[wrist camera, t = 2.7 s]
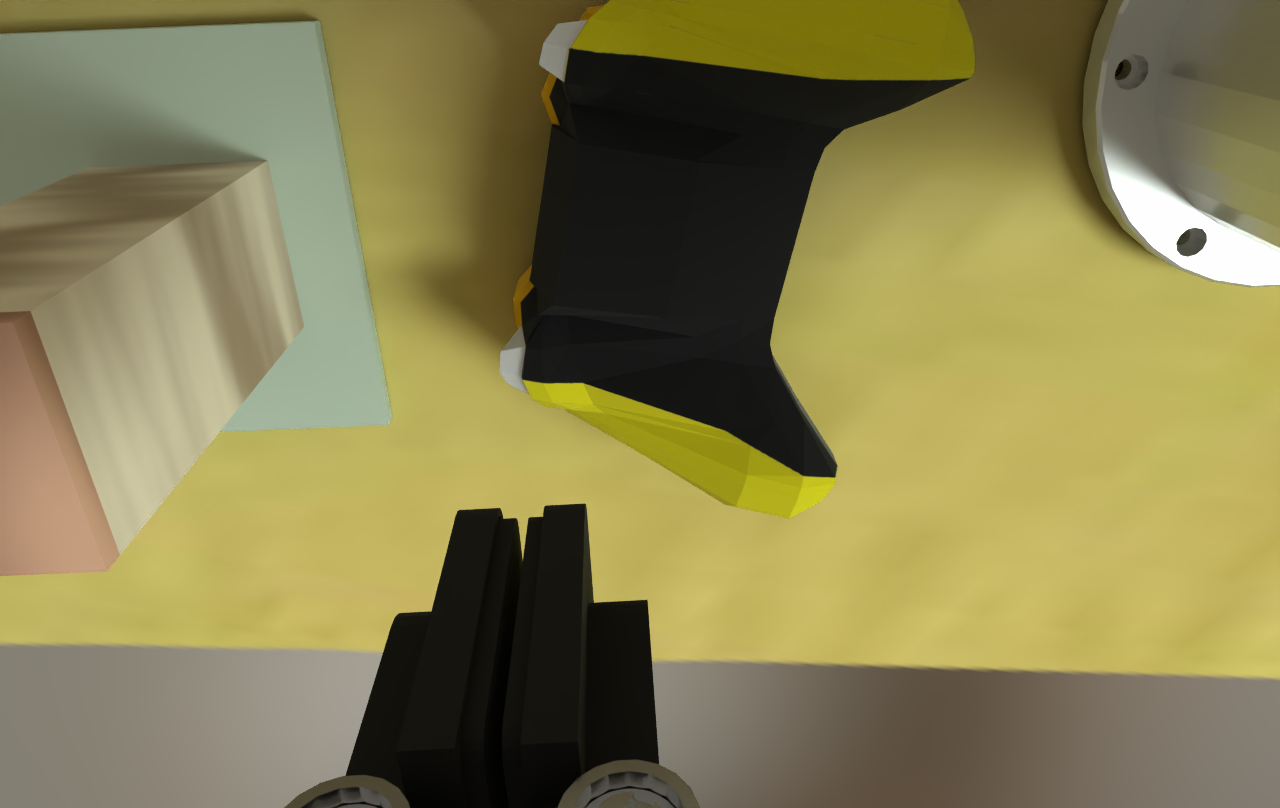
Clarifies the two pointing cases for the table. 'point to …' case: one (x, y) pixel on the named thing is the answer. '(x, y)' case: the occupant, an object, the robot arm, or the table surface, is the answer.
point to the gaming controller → (702, 218)
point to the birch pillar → (128, 345)
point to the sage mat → (209, 133)
